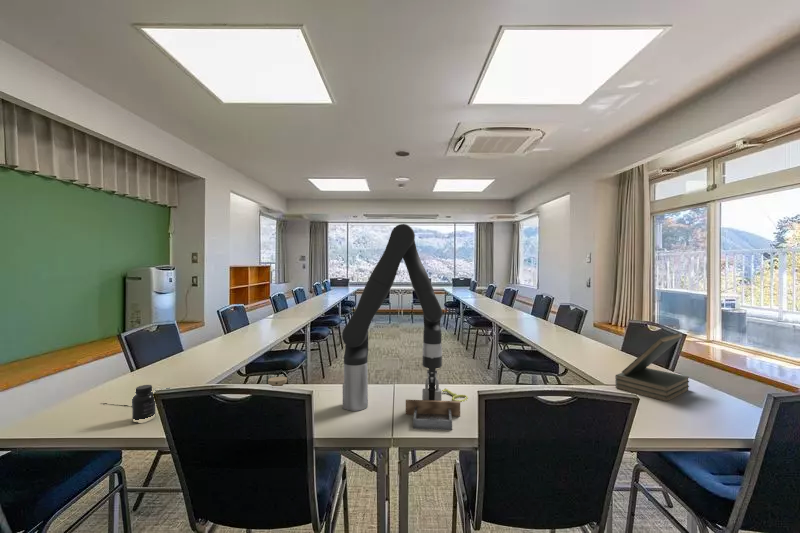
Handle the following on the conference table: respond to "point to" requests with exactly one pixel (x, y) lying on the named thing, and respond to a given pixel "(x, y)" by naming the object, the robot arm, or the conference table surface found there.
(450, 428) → the grey metal tray
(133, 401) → the supplement bottle
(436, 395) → the padlock
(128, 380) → the conference table surface
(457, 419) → the conference table surface
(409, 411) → the door strip
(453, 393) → the key
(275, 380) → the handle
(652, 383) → the dark grey angled piece
